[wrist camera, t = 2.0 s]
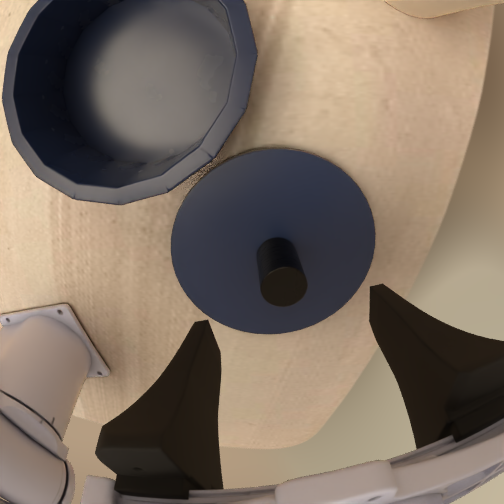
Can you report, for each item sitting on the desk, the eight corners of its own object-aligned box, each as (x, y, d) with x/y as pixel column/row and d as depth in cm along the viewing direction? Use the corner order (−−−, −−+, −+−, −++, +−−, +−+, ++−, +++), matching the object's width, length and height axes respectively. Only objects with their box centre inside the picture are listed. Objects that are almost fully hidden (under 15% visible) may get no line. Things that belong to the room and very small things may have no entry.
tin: (85, 195, 18) (42, 230, 13) (43, 31, 12) (-9, 22, 8) (268, 146, 17) (281, 167, 12) (226, -37, 12) (222, -81, 7)
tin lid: (205, 337, 23) (201, 384, 19) (147, 174, 17) (122, 199, 13) (370, 303, 23) (392, 345, 18) (360, 130, 17) (396, 142, 13)
